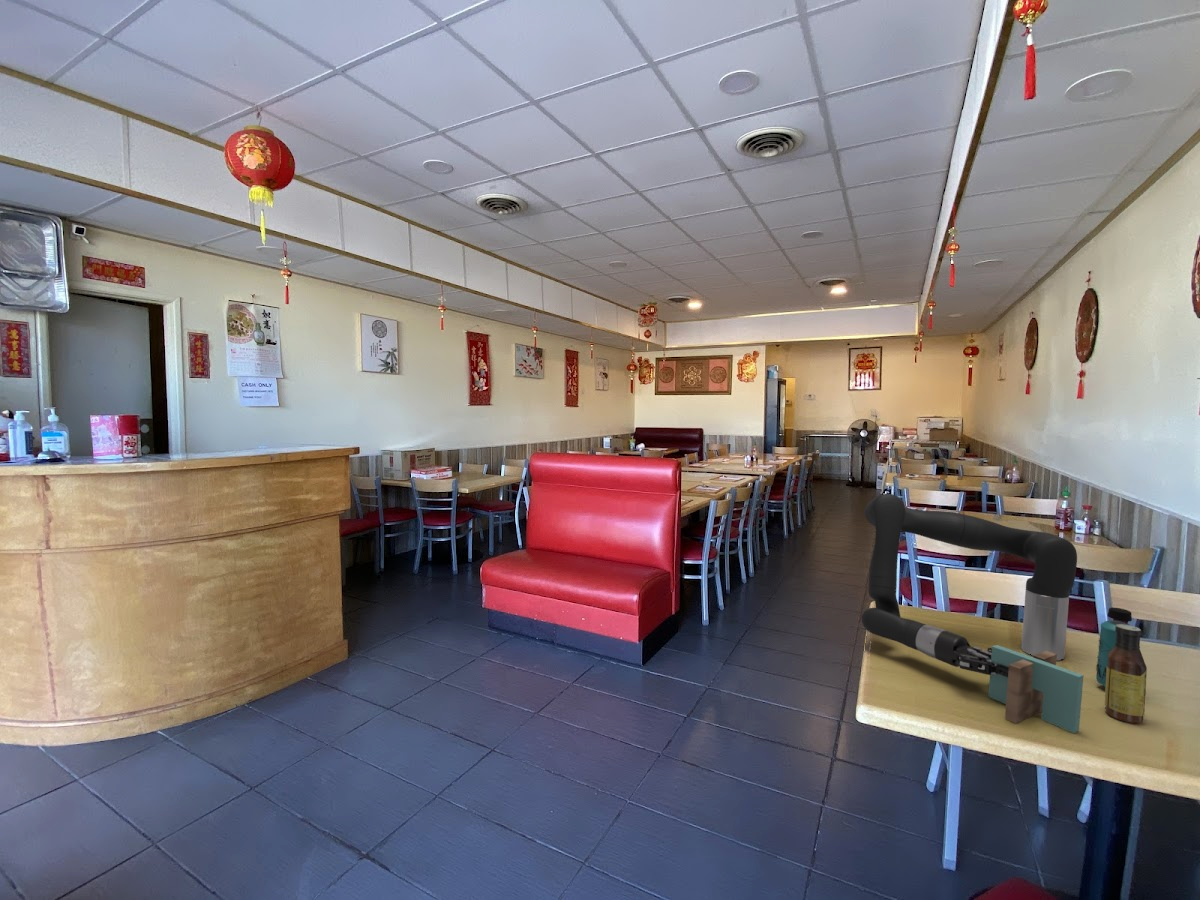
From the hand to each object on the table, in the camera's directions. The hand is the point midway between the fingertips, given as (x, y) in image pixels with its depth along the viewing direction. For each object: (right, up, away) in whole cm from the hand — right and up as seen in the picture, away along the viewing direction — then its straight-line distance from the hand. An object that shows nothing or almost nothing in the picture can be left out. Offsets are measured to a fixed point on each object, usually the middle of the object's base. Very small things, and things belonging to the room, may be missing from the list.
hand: (1021, 674), depth 120 cm
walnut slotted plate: (+1, -8, -1) cm, 8 cm away
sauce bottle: (+20, -8, -2) cm, 22 cm away
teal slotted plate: (+1, -8, -2) cm, 8 cm away
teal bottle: (+29, -8, +9) cm, 32 cm away
